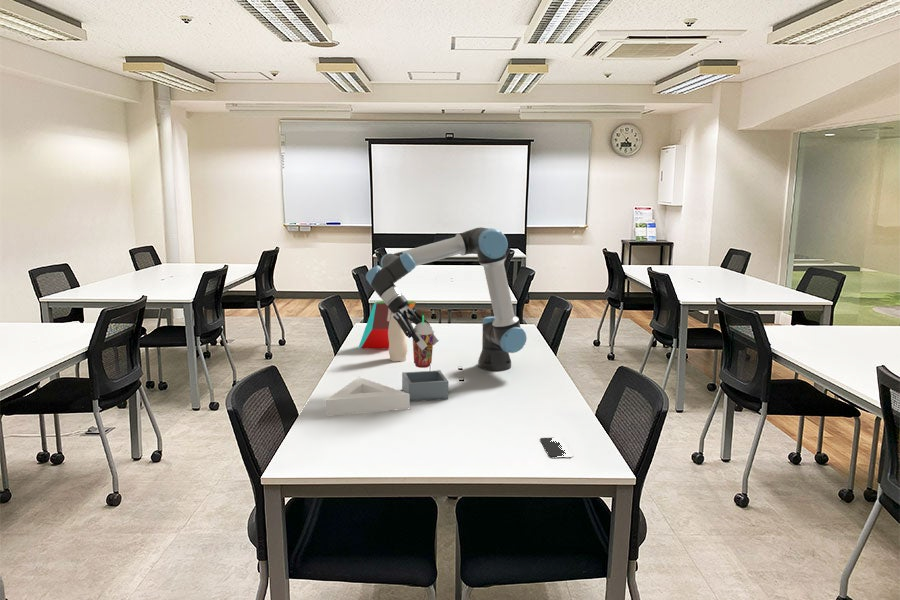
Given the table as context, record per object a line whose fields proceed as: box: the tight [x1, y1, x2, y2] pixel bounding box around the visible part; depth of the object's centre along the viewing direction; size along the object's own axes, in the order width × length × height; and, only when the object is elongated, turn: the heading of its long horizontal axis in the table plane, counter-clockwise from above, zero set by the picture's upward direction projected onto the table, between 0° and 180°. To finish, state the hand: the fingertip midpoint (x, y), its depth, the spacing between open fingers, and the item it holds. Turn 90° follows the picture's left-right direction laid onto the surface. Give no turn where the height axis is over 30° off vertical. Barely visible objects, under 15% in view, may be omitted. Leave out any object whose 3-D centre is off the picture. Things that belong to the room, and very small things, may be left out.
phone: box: [539, 437, 566, 457], centre depth 197 cm, size 7×1×15 cm
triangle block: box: [325, 376, 410, 417], centre depth 239 cm, size 30×26×6 cm
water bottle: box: [387, 309, 408, 362], centre depth 296 cm, size 10×9×28 cm
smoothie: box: [412, 314, 435, 369], centre depth 244 cm, size 8×8×20 cm
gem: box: [358, 300, 416, 349], centre depth 319 cm, size 15×29×24 cm, turn 93°
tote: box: [401, 369, 449, 402], centre depth 247 cm, size 15×15×7 cm
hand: (430, 345), depth 243 cm, fingers closed on smoothie, 8 cm apart
